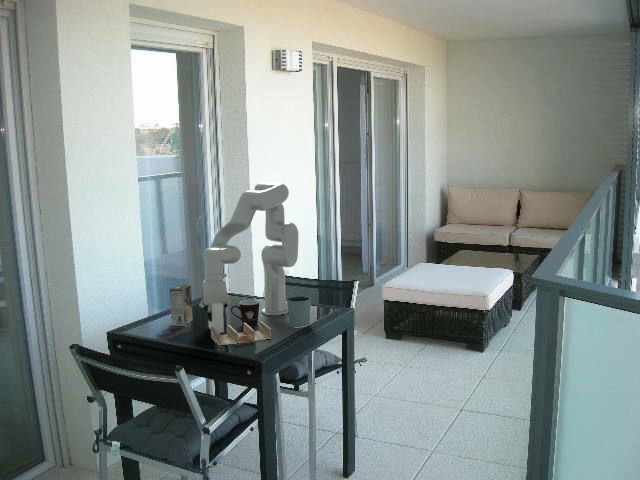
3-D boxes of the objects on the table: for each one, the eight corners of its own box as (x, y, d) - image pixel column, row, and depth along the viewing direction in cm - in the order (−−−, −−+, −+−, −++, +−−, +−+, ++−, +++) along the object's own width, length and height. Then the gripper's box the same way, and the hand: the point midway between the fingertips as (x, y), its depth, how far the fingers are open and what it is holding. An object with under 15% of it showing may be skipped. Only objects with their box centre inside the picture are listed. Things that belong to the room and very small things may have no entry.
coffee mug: (263, 323, 300) (262, 300, 298) (255, 328, 292) (254, 305, 290) (239, 321, 303) (238, 299, 302) (230, 326, 295) (229, 303, 294)
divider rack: (261, 331, 287) (261, 320, 286) (271, 340, 275) (271, 328, 274) (211, 337, 279) (210, 326, 279) (219, 346, 267) (219, 335, 266)
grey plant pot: (315, 324, 297) (314, 296, 296) (304, 330, 288) (304, 302, 286) (294, 321, 302) (293, 294, 300) (283, 327, 293) (282, 300, 291)
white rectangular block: (217, 326, 296) (216, 299, 294) (223, 332, 287) (222, 304, 285) (208, 327, 294) (207, 300, 293) (214, 333, 285) (213, 305, 283)
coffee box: (179, 320, 307) (177, 284, 305) (193, 320, 306) (191, 285, 303) (171, 325, 298) (169, 289, 296) (184, 326, 297) (183, 289, 295)
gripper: (231, 274, 294) (232, 316, 296) (192, 277, 288) (194, 320, 290) (236, 277, 287) (237, 320, 290) (196, 281, 281) (197, 324, 283)
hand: (215, 319), depth 290 cm, fingers closed on white rectangular block, 4 cm apart
